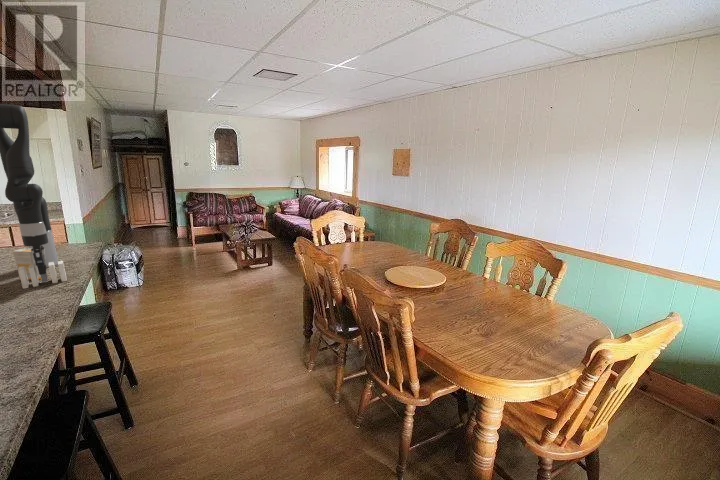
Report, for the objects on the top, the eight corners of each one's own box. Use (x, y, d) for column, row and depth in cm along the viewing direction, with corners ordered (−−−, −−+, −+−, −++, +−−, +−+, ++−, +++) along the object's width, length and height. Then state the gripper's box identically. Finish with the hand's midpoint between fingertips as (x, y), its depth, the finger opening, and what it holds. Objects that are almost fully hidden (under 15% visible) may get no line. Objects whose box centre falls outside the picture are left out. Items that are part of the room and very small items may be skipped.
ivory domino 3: (52, 279, 146) (48, 262, 144) (57, 279, 147) (53, 261, 145) (52, 283, 142) (48, 265, 140) (57, 282, 143) (53, 264, 141)
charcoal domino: (42, 278, 144) (38, 260, 141) (47, 277, 145) (43, 259, 143) (42, 281, 140) (37, 263, 138) (47, 280, 141) (43, 262, 139)
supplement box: (47, 276, 149) (41, 248, 146) (36, 280, 145) (29, 251, 141) (30, 275, 150) (24, 247, 147) (19, 279, 145) (11, 250, 142)
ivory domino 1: (23, 284, 140) (19, 266, 138) (29, 283, 141) (24, 266, 139) (23, 288, 137) (18, 270, 134) (28, 287, 138) (23, 269, 136)
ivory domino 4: (61, 278, 148) (57, 261, 146) (66, 277, 149) (62, 260, 147) (61, 281, 144) (58, 264, 142) (66, 280, 145) (62, 263, 143)
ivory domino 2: (33, 283, 142) (29, 265, 140) (38, 282, 143) (34, 264, 141) (33, 286, 138) (28, 268, 136) (38, 285, 140) (34, 267, 137)
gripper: (22, 231, 140) (31, 269, 144) (19, 238, 129) (30, 279, 134) (46, 228, 145) (54, 266, 149) (46, 235, 134) (55, 275, 139)
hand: (43, 272), depth 141 cm, fingers closed on charcoal domino, 5 cm apart
